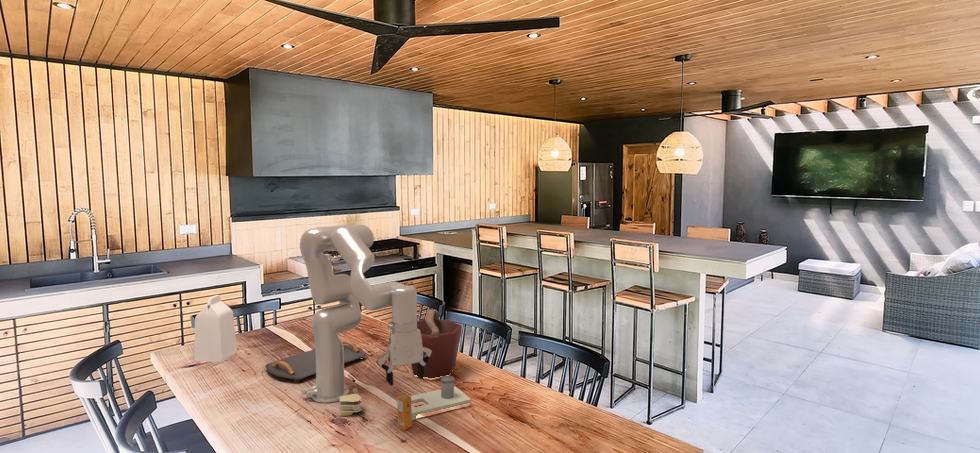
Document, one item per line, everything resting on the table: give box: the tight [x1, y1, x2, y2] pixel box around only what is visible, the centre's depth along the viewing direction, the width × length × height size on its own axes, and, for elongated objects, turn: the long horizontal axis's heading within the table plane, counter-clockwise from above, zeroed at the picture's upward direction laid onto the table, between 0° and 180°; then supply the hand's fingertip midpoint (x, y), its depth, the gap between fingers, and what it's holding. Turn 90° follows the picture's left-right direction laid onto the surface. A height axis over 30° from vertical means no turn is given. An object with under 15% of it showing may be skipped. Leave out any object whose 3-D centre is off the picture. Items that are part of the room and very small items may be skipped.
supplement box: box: [396, 393, 413, 431], centre depth 155 cm, size 3×3×10 cm
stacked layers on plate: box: [339, 393, 363, 417], centre depth 164 cm, size 10×9×6 cm
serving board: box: [265, 340, 367, 384], centre depth 205 cm, size 39×23×6 cm, turn 144°
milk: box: [194, 294, 238, 363], centre depth 212 cm, size 12×12×26 cm
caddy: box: [410, 375, 472, 422], centre depth 169 cm, size 22×12×9 cm, turn 120°
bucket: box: [410, 309, 463, 378], centre depth 198 cm, size 24×22×25 cm
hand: (405, 380), depth 153 cm, fingers open, 9 cm apart
